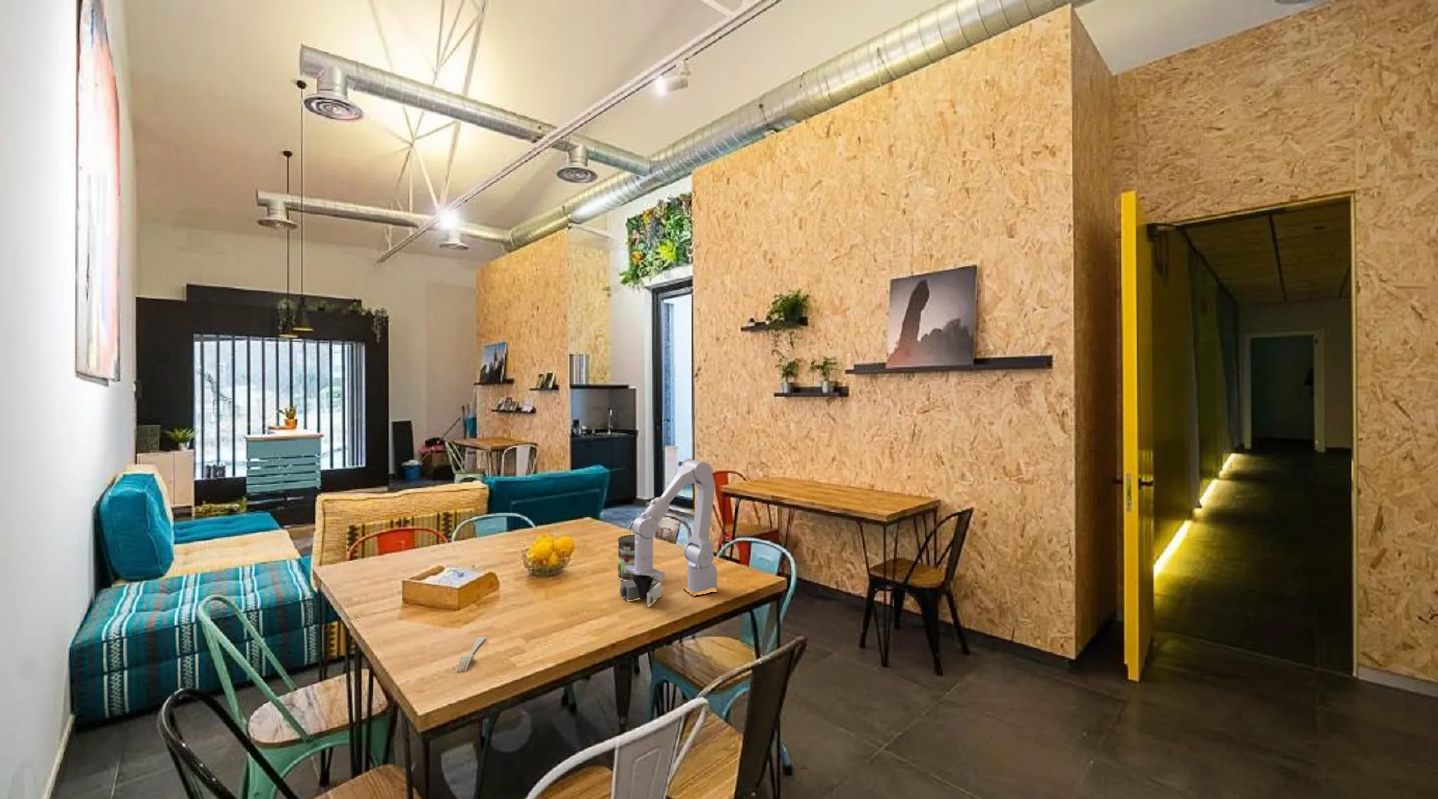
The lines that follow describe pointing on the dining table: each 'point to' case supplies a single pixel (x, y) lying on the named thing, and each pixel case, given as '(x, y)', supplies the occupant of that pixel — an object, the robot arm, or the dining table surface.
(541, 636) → the dining table surface
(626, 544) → the coffee can
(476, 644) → the fork
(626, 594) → the camera case
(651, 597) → the side door
